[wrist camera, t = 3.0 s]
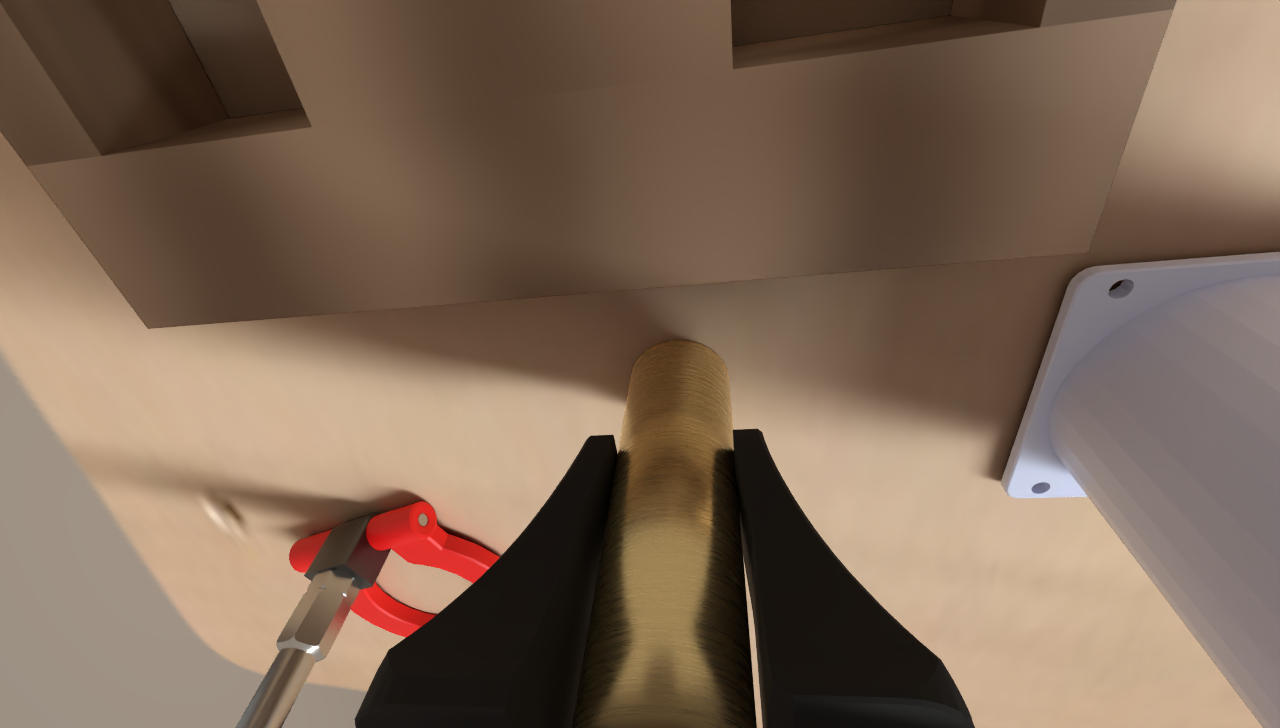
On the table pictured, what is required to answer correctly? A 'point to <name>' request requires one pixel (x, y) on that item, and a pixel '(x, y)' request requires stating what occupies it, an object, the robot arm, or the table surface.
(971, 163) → the hole block
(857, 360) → the table surface
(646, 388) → the brass pin
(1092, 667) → the table surface
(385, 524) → the tow hook
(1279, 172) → the table surface
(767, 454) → the robot arm
